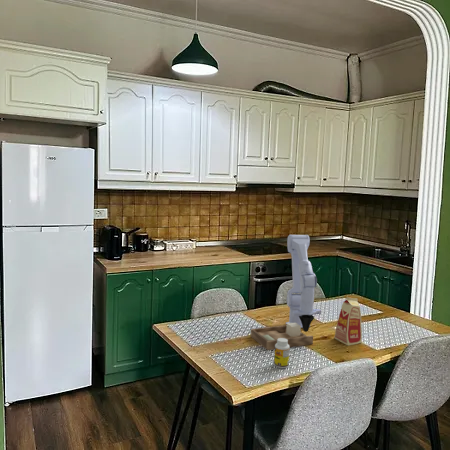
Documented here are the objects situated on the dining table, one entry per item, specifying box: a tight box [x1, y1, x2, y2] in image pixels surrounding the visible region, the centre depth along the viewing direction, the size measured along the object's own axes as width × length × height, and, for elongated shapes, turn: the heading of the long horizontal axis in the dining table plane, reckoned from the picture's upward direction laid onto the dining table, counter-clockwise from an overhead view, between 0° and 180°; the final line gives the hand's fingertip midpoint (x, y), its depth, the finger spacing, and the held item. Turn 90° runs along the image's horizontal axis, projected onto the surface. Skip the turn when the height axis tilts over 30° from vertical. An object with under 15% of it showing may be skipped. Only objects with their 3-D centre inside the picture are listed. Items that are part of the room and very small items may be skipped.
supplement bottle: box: [273, 338, 291, 369], centre depth 165 cm, size 6×6×10 cm
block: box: [286, 323, 302, 337], centre depth 194 cm, size 4×4×4 cm
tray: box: [250, 324, 314, 351], centre depth 192 cm, size 22×16×4 cm
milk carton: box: [333, 296, 363, 346], centre depth 194 cm, size 9×9×20 cm
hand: (305, 330), depth 196 cm, fingers closed
